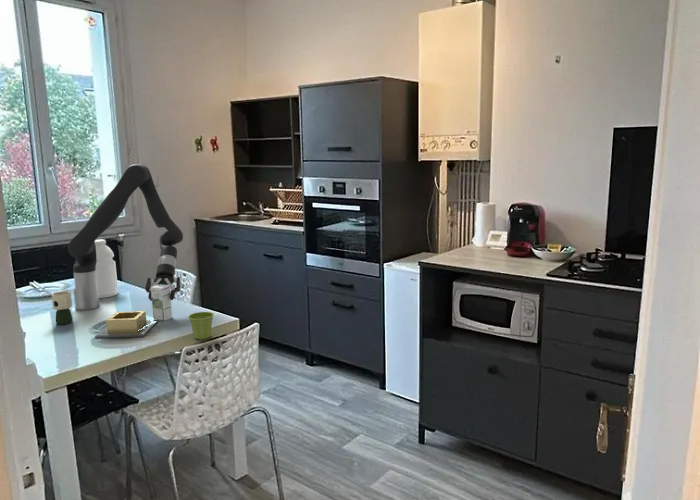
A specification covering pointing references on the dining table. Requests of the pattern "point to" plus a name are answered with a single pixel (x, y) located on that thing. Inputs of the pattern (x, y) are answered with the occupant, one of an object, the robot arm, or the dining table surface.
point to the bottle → (105, 270)
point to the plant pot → (201, 324)
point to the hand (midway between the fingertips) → (161, 299)
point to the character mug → (62, 306)
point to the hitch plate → (125, 325)
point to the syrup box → (161, 302)
